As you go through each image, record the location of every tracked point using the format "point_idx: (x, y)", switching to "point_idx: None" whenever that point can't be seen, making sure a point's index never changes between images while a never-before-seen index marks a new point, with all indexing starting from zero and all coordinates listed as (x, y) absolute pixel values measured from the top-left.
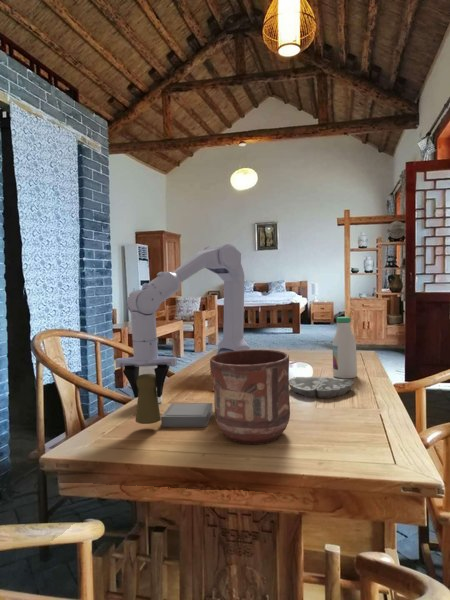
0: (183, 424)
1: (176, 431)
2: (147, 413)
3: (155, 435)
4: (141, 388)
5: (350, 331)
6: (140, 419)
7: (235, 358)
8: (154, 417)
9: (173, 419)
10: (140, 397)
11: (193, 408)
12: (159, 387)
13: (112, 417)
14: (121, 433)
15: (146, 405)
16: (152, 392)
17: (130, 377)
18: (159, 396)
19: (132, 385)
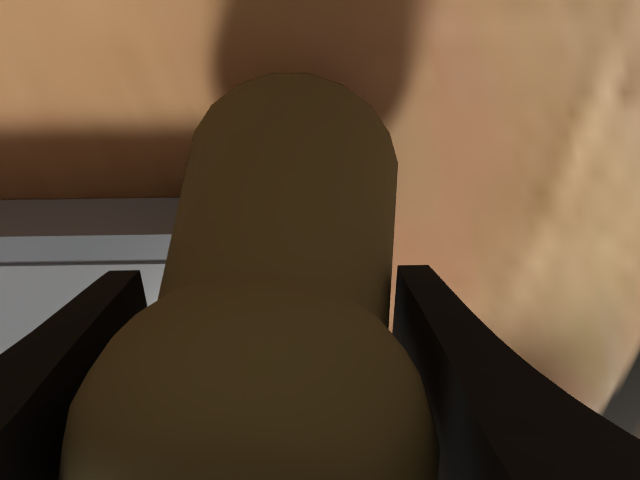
0: (49, 207)
1: (67, 111)
2: (254, 117)
3: (197, 23)
4: (311, 285)
5: None
6: (329, 94)
7: None
8: (204, 129)
9: (110, 224)
10: (335, 222)
11: None
12: (39, 335)
13: (603, 353)
14: (486, 67)
15: (256, 156)
16: (171, 284)
17: (562, 447)
18: (109, 273)
19: (482, 349)
